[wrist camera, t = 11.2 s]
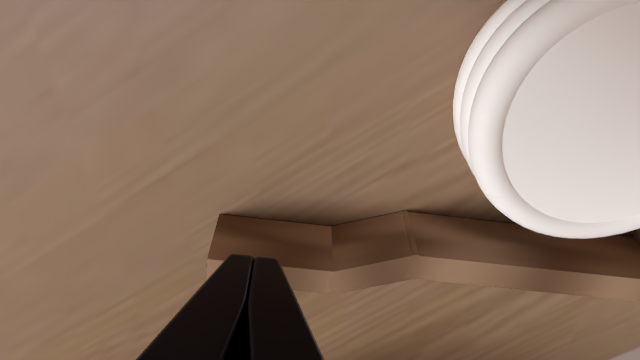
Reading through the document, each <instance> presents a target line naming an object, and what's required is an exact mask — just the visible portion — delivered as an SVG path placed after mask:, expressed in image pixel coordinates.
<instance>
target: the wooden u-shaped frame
mask: <svg viewBox="0 0 640 360" xmlns="http://www.w3.org/2000/svg"><path fill="white" fill-rule="evenodd" d="M232 253H237V254H247V255H252V256H253V258H255V257H256V256H266V257H275V258H277V259H278V260H279V262H280V264H281V267H282V269H283V271H284V273H285V275H286V278H287V280H288V282H289V284H290V286H291V288H292V290H297V291H308V292H318V293H328V294H329V291H330V286H331V282H333V286H334V289H335V292H336V294H338V293H343V292H348V291H353V290H358V289H364V288H369V287H374V286H379V285H384V284H389V283H394V282H399V281H404V280H409V279H420V280H430V281H440V282H450V283H460V284H469V285H479V286H489V287H499V288H509V289H519V290H529V291H539V292H549V293H559V294H569V295H579V296H589V297H598V298H608V299H618V300H628V301H638V302H640V228H639V229H636V231H635V233H634V234H633V236H632V237H629V236H620V235H611V236H606V237H598V238H588V239H580V238H562V237H554V236H550V235H545V234H541V233H537V232H535V231H532V230H530V229H527V228H525V227H523V226H521V225H519V224H513V223H504V222H495V221H486V220H477V219H468V218H459V217H450V216H441V215H433V214H424V213H415V212H407V210H406V211H400V212H396V213H392V214H387V215H382V216H378V217H373V218H368V219H364V220H359V221H354V222H350V223H345V224H340V225H336V226H323V225H314V224H305V223H295V222H286V221H277V220H268V219H258V218H249V217H240V216H231V215H221V214H219V218H218V221H217V225H216V229H215V232H214V236H213V240H212V243H211V247H210V251H209V254H208V258H207V279H208V278H209V277H210V276H211V275H212V274H213V273H214V272H215V270H216V269H217V268H218V267H219V266H220V265H221V264H222V263H223V262H224V260H225V259H226V258H227V257H228V256H229V255H230V254H232Z"/></svg>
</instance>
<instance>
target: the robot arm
mask: <svg viewBox="0 0 640 360" xmlns="http://www.w3.org/2000/svg"><path fill="white" fill-rule="evenodd" d="M136 360H324V358H323V356H322V354H321V352H320V350H319V347H318V345H317V343H316V341H315V339H314V336H313V334H312V332H311V330H310V328H309V326H308V323H307V321H306V319H305V317H304V315H303V312H302V310H301V308H300V306H299V304H298V302H297V299H296V297H295V295H294V293H293V291H292V288H291V286H290V284H289V282H288V280H287V278H286V275H285V273H284V271H283V269H282V267H281V264H280V262H279V260H278V259H277V258H275V257H266V256H256V257H255V258H253V256H252V255H247V254H237V253H232V254H230V255H229V256H228V257H227V258H226V259H225V260H224V262H223V263H222V264H221V265H220V266H219V267H218V268H217V269H216V270H215V272H214V273H213V274H212V275H211V276H210V277H209V278H208V279H207V281H206V282H205V283H204V284H203V285H202V286H201V287H200V288H199V290H198V291H197V292H196V293H195V294H194V295H193V296H192V297H191V299H190V300H189V301H188V302H187V303H186V304H185V305H184V306H183V307H182V309H181V310H180V311H179V312H178V313H177V314H176V315H175V316H174V318H173V319H172V320H171V321H170V322H169V323H168V324H167V325H166V327H165V328H164V329H163V330H162V331H161V332H160V333H159V334H158V336H157V337H156V338H155V339H154V340H153V341H152V342H151V343H150V344H149V346H148V347H147V348H146V349H145V350H144V351H143V352H142V353H141V355H140V356H139V357H138V358H137V359H136Z"/></svg>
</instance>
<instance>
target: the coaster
mask: <svg viewBox="0 0 640 360" xmlns="http://www.w3.org/2000/svg"><path fill="white" fill-rule="evenodd" d="M453 121H454V128H455V133H456V137H457V141H458V144H459V147H460V149H461V151H462V153H463V156H464V158H465V159H466V161H467V162H468V165H469V167H470V169H471V171H472V173H473V174H474V176H475V178H476V180H477V182H478V185H479V187H480V188H481V190H482V191H483V193H484V194H485V196H486V197H487V199H488V200H489V201H490V202H491V203H492V204H493V205H494V206H495V207H496V208H497V209H498V210H499V211H500V212H502V213H503V214H504V215H505V216H507V217H508V218H509V219H511V220H512V221H514V222H516V223H518V224H519V225H521V226H523V227H525V228H527V229H530V230H532V231H535V232H537V233H541V234H545V235H550V236H554V237H562V238H580V239H588V238H598V237H606V236H611V235H616V234H622V233H625V232H629V231H632V230H636V229H639V228H640V0H506V1H505V2H504V3H503V4H502V5H501V6H500V7H499V8H498V9H497V10H496V11H495V12H494V13H493V15H492V16H491V17H490V18H489V19H488V20H487V21H486V23H485V24H484V25H483V27H482V28H481V30H480V31H479V32H478V34H477V35H476V37H475V38H474V40H473V42H472V44H471V45H470V47H469V49H468V51H467V53H466V55H465V58H464V60H463V62H462V65H461V67H460V70H459V74H458V78H457V81H456V85H455V93H454V100H453Z"/></svg>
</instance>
